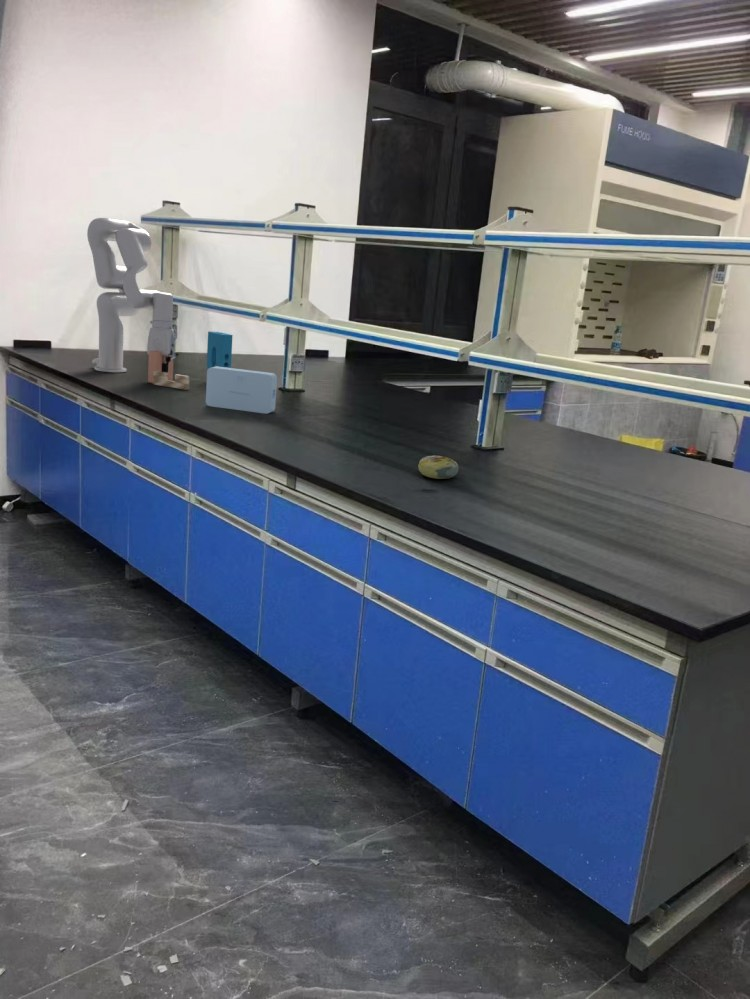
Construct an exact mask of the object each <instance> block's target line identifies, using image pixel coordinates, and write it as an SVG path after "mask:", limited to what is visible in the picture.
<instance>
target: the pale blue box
mask: <svg viewBox="0 0 750 999" xmlns="http://www.w3.org/2000/svg"><path fill="white" fill-rule="evenodd" d="M205 384H206V387H205V388H206V389H205V405H207V407H213V408H220V409H221V408H222V409H229V410H236V411H245V412H252V413H259V414H265V415H267V414H269V413H272V412H274V411H275V409H276V402H277V401H276V400H277V384H278V376H277V375H276V374H275V373H274V372H266V371H260V370H259V371H258V370H251V369H250V370H249V369H241V368H234V367H231V368H226V367H218V366H216V367H211V368H209V369H208V370H207V369H206V383H205Z"/></svg>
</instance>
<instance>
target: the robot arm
mask: <svg viewBox="0 0 750 999" xmlns="http://www.w3.org/2000/svg"><path fill="white" fill-rule="evenodd" d="M86 232H87V235H86V236H87V241H88V245H89V248H90V251H91V254H92V259H93V266H94V274H95V277H96V282H97V284H98V286H99V287H100V288H102V289H104V290H105V289H106V290H118V292H116V291H105V292H103V293H101V294H100V295H98V296H97V299H96V309H97V314H98V315H97V316H98V357H97V358H93V359H92V360H91V363H92V364H96V365H95V366H94V370H95V371H97V372H102V373H103V372H105V373H125V372H127V370H128V369H127V368H126V367H124V325H123V321H121V317H133V316H136V315H137V313H138V311H139V310H143V311H144V310H146V311H147V310H148V311H152V318H151V319H152V320H150V321H149V323H150V325H151V327H150V328H149V332H148V336H147V337H148V338H147V346H146V347H147V351H146V354H147V355H148V356H149V351H159V352H160V354H161V355H163V362H164V363H162V372H166V373H168V363H170V361H171V360H172V359H173V360H174V359H176V358H177V353H176V351H175V350H176V349H175V348H176V344H175V342H176V341H175V338H176V337H175V332H174V329H173V314H174V313H173V312H174V308H173V307H174V296H173V293H170V292H163V291H162V292H161V291H158V290H151V289H140V288H139V286H138V283H137V279H136V277H137V274H138V273H141V272H143V271H144V270H146V269H147V267H148V260H147V258H146V256H145V253H144V252H148V251H149V250H150V249H151V246H152V238H151V235H150V234H149V233H148V231H146V230H145V229H143V228H142V227H140V226H138V225H137V224H135V223H133V222H130V221H127V220H122V219H115V218H110V217H96V218H94V219H92V220H91V221H90V222H89V224H88V227H87V230H86ZM108 241H110V242H115V243H116V244H117V247H118V251H119V253H120V256H121V258H122V261H123V263H124V265H118V264H117V262H116V255H115V251H114V250H113V248H112V246H111V245H110V244H109V243H108ZM170 355H171V356H170Z"/></svg>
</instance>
